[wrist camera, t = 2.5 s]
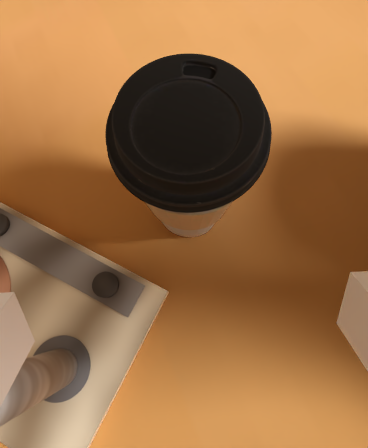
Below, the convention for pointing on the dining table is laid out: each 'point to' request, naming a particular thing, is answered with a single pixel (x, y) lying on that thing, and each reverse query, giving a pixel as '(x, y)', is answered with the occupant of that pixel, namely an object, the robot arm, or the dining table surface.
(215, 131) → the coffee cup
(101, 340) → the control board
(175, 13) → the dining table surface
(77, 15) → the dining table surface
